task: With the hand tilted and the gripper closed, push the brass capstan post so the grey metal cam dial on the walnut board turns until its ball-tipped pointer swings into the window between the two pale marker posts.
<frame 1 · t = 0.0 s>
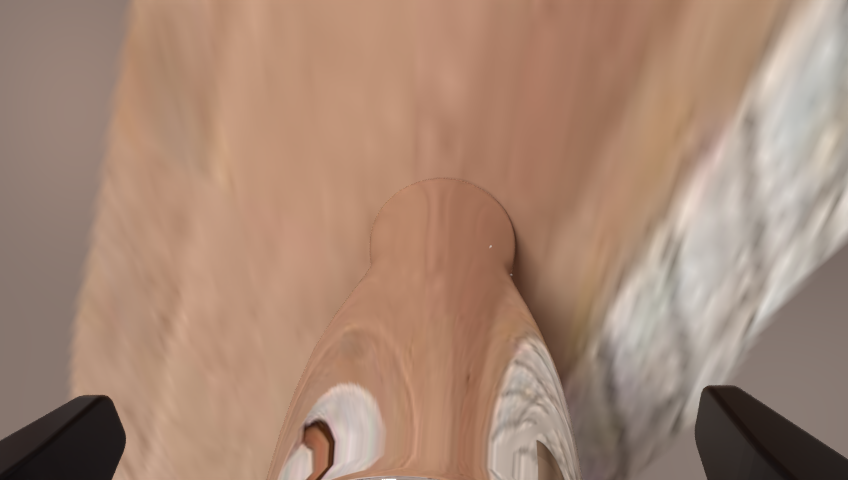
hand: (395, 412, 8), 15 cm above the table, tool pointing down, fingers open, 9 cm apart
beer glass: (442, 243, 24), on the table
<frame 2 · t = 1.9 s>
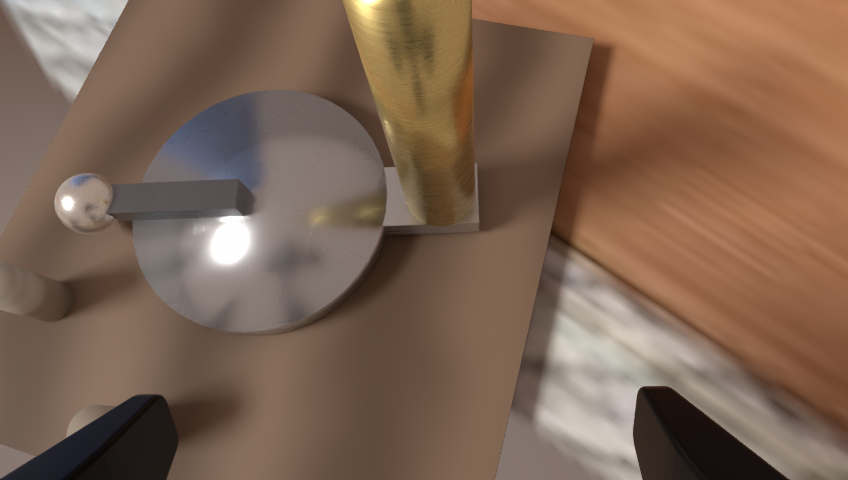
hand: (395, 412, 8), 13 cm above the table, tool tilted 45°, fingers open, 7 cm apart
cam dial: (206, 134, 17), point 7 cm above the table, hinge at 0.0°
walnut board: (278, 222, 23), on the table
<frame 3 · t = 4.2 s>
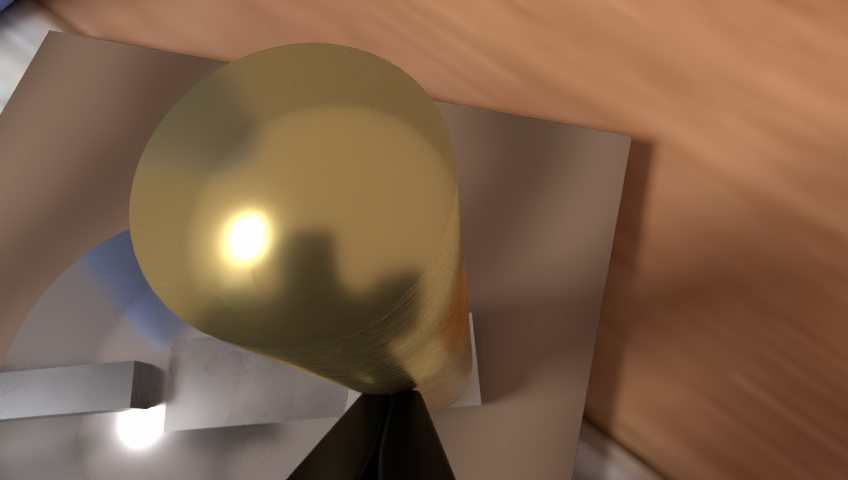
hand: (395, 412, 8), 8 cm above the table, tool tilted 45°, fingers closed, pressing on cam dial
cam dial: (44, 359, 10), point 7 cm above the table, hinge at 3.8°, touching gripper
walnut board: (206, 391, 17), on the table
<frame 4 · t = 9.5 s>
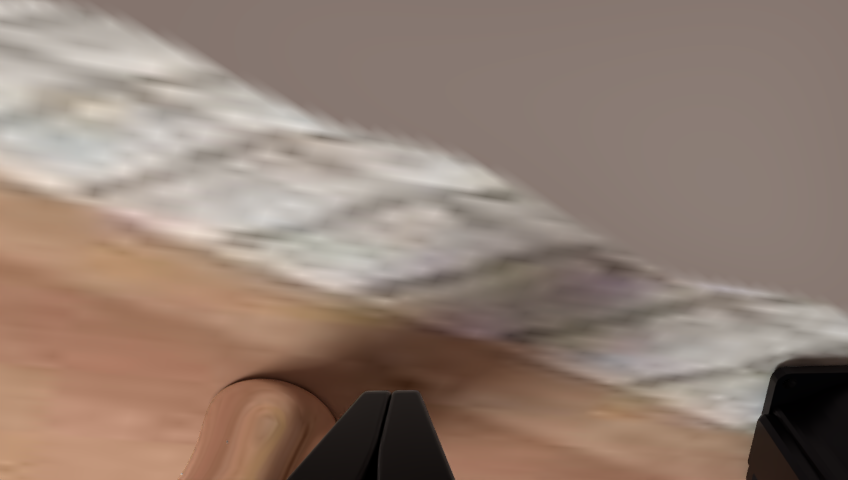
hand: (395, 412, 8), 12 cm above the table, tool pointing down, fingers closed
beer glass: (275, 426, 25), on the table
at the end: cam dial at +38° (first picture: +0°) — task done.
